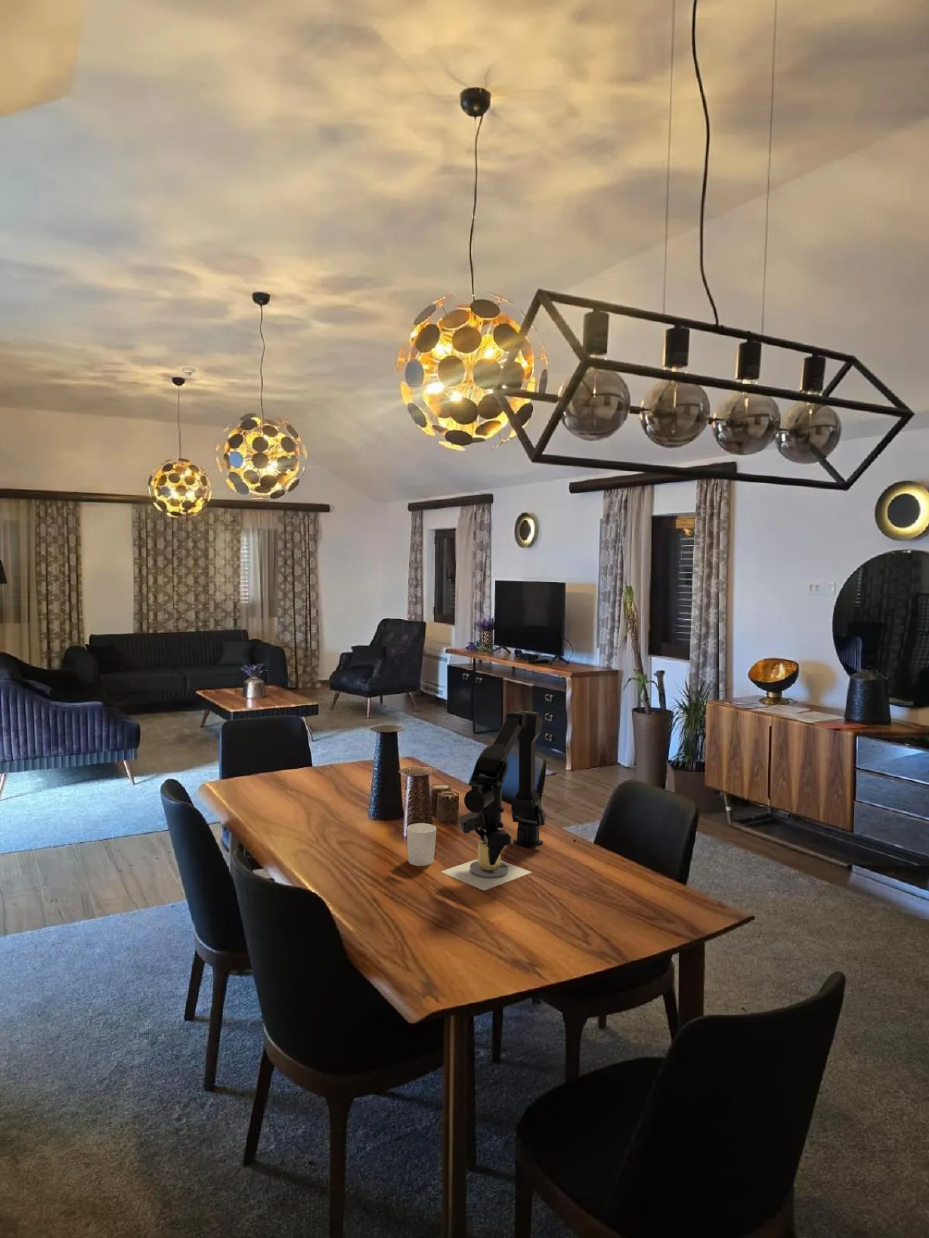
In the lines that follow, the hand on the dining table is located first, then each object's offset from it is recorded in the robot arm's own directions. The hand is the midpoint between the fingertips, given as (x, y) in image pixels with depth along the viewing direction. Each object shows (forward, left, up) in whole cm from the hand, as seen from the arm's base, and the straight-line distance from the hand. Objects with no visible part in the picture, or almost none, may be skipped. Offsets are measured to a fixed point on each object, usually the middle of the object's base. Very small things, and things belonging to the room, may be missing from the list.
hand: (489, 860), depth 206 cm
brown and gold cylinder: (0, 0, -1) cm, 1 cm away
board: (+1, 0, -4) cm, 4 cm away
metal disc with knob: (0, 0, -3) cm, 3 cm away
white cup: (+9, -17, -4) cm, 20 cm away
